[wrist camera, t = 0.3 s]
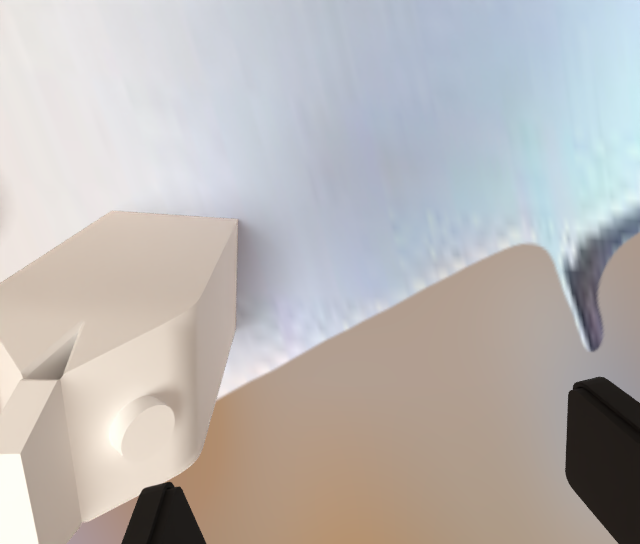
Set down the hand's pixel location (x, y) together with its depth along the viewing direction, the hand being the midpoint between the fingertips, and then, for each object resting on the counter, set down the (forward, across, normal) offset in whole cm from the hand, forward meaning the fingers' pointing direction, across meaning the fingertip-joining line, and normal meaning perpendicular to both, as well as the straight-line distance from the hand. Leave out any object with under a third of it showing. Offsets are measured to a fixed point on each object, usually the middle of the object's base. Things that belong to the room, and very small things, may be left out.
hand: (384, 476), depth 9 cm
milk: (+31, +13, +3) cm, 34 cm away
